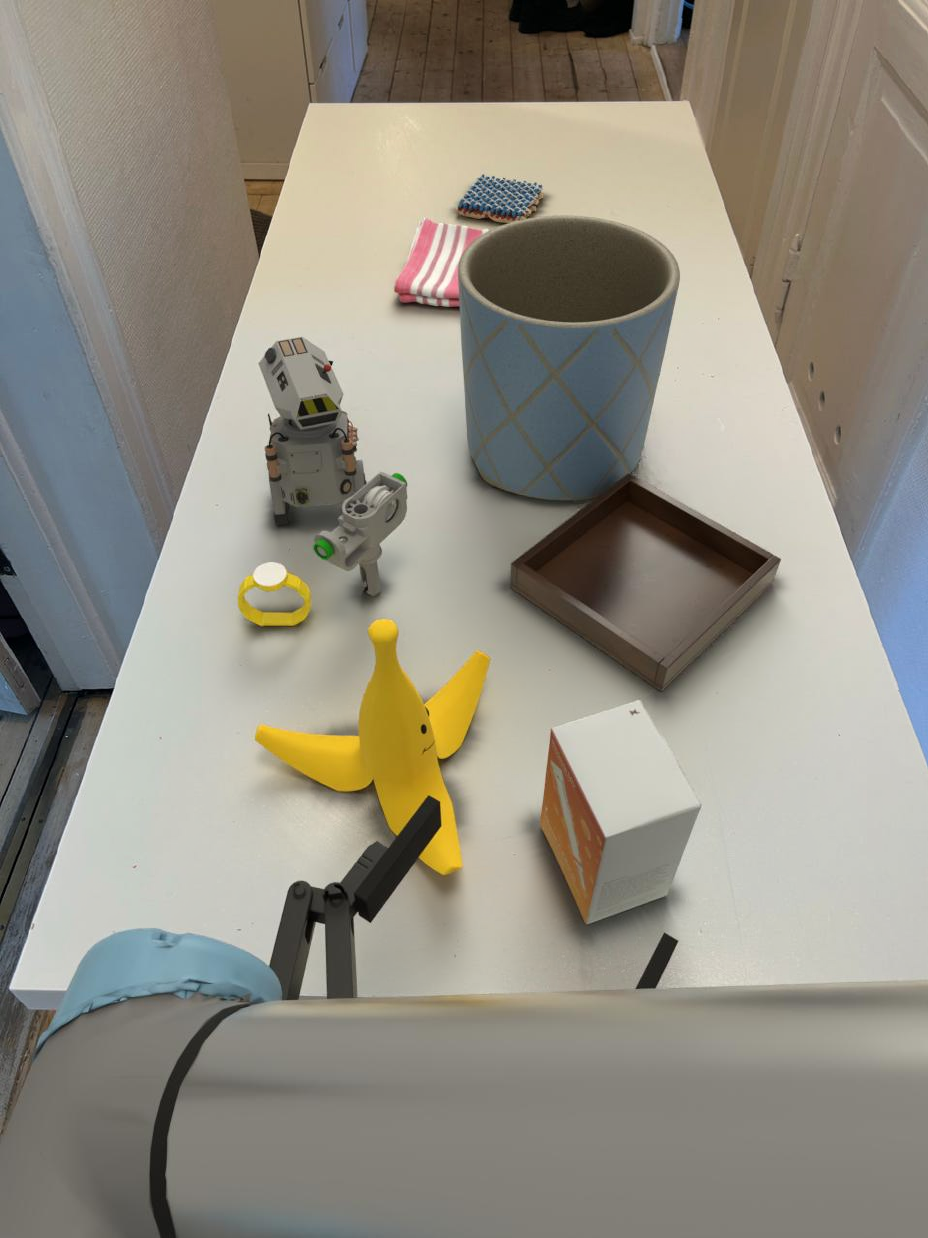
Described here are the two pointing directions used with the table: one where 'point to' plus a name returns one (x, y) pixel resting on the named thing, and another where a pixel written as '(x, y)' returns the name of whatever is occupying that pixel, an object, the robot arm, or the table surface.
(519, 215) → the woven mat
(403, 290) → the dish towel
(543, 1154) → the robot arm
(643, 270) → the planter
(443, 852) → the banana peel
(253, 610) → the watch
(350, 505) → the mechanical component
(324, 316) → the table surface
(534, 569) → the wooden tray
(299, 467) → the figurine
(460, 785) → the table surface
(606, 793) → the small box
